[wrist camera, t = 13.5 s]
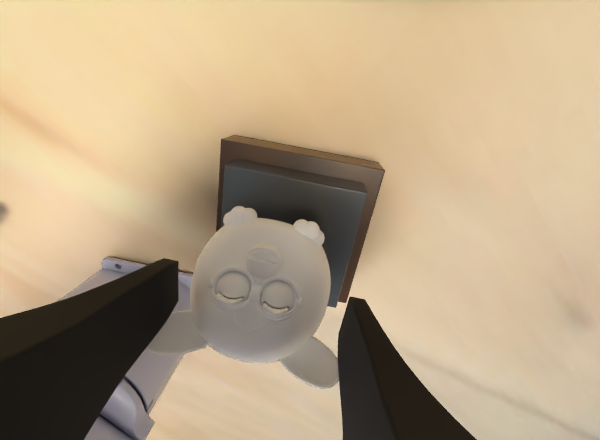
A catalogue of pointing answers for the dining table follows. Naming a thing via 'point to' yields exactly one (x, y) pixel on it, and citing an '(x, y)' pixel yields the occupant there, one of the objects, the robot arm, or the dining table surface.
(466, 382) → the dining table surface
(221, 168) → the stack
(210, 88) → the dining table surface
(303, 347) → the figurine
